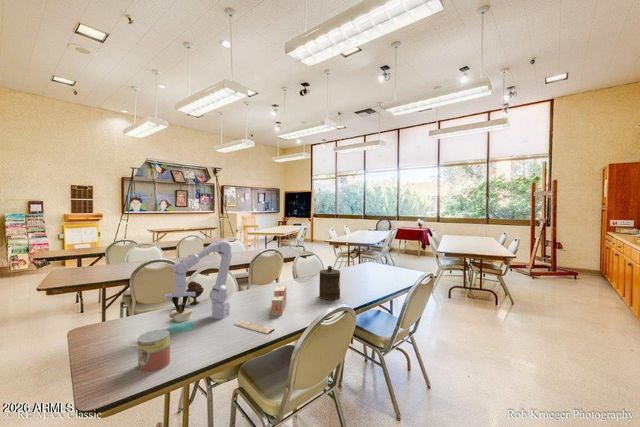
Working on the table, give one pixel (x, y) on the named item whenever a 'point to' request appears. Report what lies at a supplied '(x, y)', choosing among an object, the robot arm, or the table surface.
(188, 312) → the cover
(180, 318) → the bowl
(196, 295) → the ice cream bowl
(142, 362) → the canned food
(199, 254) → the robot arm
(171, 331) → the mat
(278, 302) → the stack of blocks
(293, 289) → the table surface
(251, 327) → the tan wooden plank
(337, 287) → the wooden container
